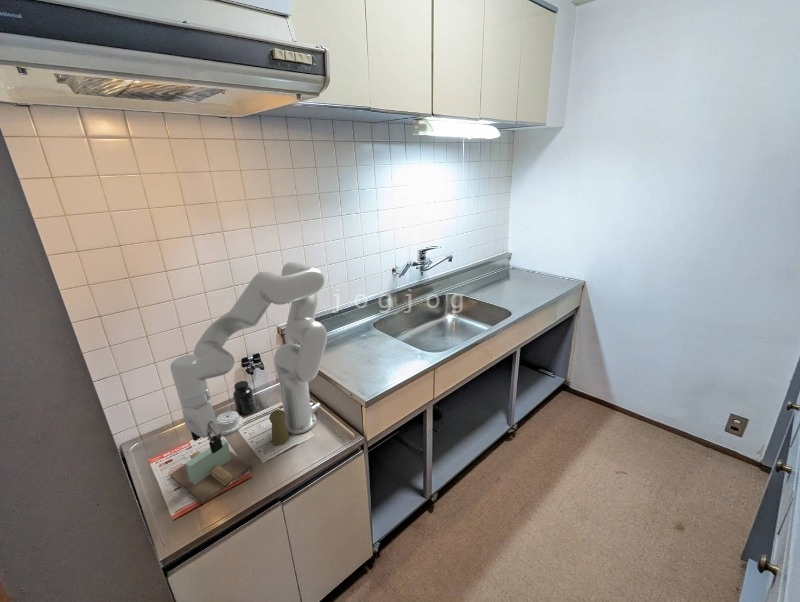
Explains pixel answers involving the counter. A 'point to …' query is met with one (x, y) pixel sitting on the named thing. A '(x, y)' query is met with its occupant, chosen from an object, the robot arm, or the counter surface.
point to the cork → (279, 427)
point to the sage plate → (207, 462)
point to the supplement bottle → (243, 398)
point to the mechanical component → (229, 422)
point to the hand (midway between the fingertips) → (208, 443)
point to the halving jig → (212, 478)
